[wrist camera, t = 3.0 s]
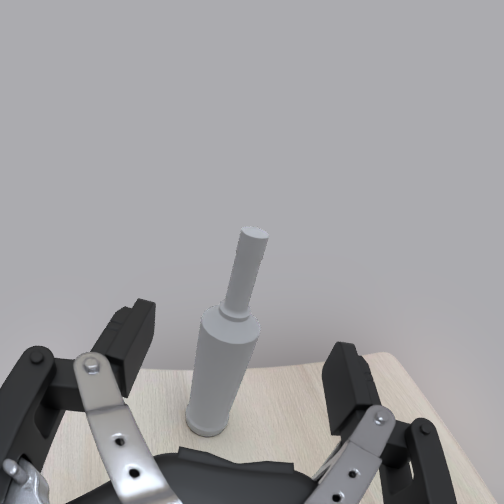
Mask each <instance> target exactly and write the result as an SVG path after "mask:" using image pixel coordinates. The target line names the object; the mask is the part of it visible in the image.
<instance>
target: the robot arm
mask: <svg viewBox="0 0 504 504" xmlns="http://www.w3.org/2000/svg"><path fill="white" fill-rule="evenodd" d="M155 308H156V304H155V303H154V302H151V301H147V300H143V299H137V301H136V302H135V304H134V306H133V308H128V307H123V308H121V309H120V310H118V311H117V312H115V314H114V315H113V317H112V319H111V320H110V322H109V323H108V325H107V326H106V328H105V329H104V331H103V332H102V334H101V335H100V337H99V339H98V340H97V342H96V343H95V345H94V347H93V348H92V350H91V351H90V352H86V353H83V354H81V355H79V356H78V357H77V358H76V359H74V360H70V359H60V358H54V356H53V354H52V352H51V351H50V350H49V349H48V348H46V347H43V346H33V347H30V348H28V349H27V350H26V351H24V353H23V354H22V356H21V357H20V359H19V360H18V361H17V363H16V365H15V366H14V368H13V369H12V371H11V372H10V374H9V375H8V377H7V378H6V380H5V382H4V383H3V385H2V387H1V388H0V504H50V503H49V485H48V483H47V481H46V479H45V478H44V477H43V476H42V475H41V474H40V473H41V470H42V468H43V465H44V462H45V460H46V457H47V454H48V452H49V449H50V447H51V444H52V442H53V439H54V437H55V434H56V432H57V429H58V427H59V425H60V422H61V420H62V418H63V415H64V413H65V411H66V410H69V411H78V412H85V413H86V416H87V420H88V423H89V426H90V429H91V432H92V435H93V437H94V440H95V443H96V446H97V448H98V451H99V454H100V456H101V459H102V461H103V464H104V466H105V468H106V471H107V473H108V475H109V478H110V481H108V482H107V483H105V484H103V485H101V486H99V487H97V488H96V489H94V490H92V491H90V492H88V493H86V494H84V495H82V496H80V497H78V498H76V499H74V500H72V501H70V502H68V503H66V504H359V502H360V500H361V499H362V497H363V495H364V494H365V492H366V490H367V488H368V487H369V485H370V483H371V481H372V480H373V478H374V476H375V474H376V472H377V470H378V469H379V472H380V479H381V486H382V494H383V502H384V504H457V501H456V497H455V493H454V489H453V485H452V481H451V477H450V473H449V470H448V466H447V463H446V459H445V456H444V452H443V449H442V446H441V443H440V440H439V436H438V433H437V430H436V428H435V426H434V425H433V423H432V422H430V421H429V420H427V419H425V418H417V419H415V420H414V421H413V422H412V423H411V424H408V423H405V422H401V421H398V420H395V417H394V415H393V413H392V412H391V411H390V410H389V409H388V408H386V407H384V406H382V405H381V402H380V399H379V395H378V392H377V389H376V386H375V383H374V382H373V377H372V375H371V371H370V368H369V365H368V363H367V362H366V361H365V360H364V358H363V357H362V356H358V354H357V351H356V348H355V345H354V344H351V343H345V342H337V343H336V344H335V345H334V347H333V349H332V351H331V353H330V355H329V357H328V359H327V360H326V362H325V364H324V366H323V369H322V381H323V387H324V393H325V399H326V405H327V412H328V418H329V424H330V431H331V435H336V436H341V441H340V442H339V443H338V444H337V446H336V447H335V448H334V450H333V451H332V453H331V454H330V455H329V457H328V458H327V459H326V461H325V462H324V463H323V465H322V466H321V467H320V469H319V470H318V471H317V472H316V473H315V474H314V475H313V477H312V478H310V477H308V476H307V475H305V474H303V473H300V472H298V471H295V470H294V463H286V462H273V461H262V462H253V463H242V464H237V463H233V462H231V461H228V460H226V459H223V458H220V457H218V456H215V455H213V454H211V453H208V452H203V451H198V450H194V449H189V448H185V447H180V446H179V450H178V453H165V454H160V455H156V456H152V454H151V452H150V450H149V448H148V446H147V444H146V442H145V440H144V438H143V436H142V434H141V432H140V430H139V428H138V426H137V423H136V421H135V419H134V417H133V414H132V412H131V410H130V408H129V406H128V405H127V404H125V402H124V400H123V398H122V397H124V398H128V396H129V393H130V391H131V389H132V386H133V384H134V381H135V379H136V377H137V374H138V372H139V370H140V367H141V365H142V363H143V360H144V358H145V356H146V354H147V351H148V349H149V347H150V344H151V342H152V339H153V335H154V326H155V325H154V324H155ZM410 461H411V464H412V468H413V473H414V478H413V479H412V474H411V469H410V465H409V462H410Z"/></svg>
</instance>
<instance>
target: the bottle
mask: <svg viewBox="0 0 504 504" xmlns="http://www.w3.org/2000/svg"><path fill="white" fill-rule="evenodd" d="M268 237H269V234H268V233H267V232H266V231H264V230H262V229H260V228H256V227H250V226H248V227H243V228H242V230H241V233H240V238H239V241H238V246H237V250H236V257H235V261H234V265H233V269H232V273H231V277H230V282H229V286H228V290H227V294H226V298H225V299H224V300H223V301H222V302H221V303H220V305H216V306H212V307H210V308H209V309H207V310H206V311H205V312H204V314H203V316H202V318H201V324H200V330H199V337H198V343H197V350H196V357H195V364H194V371H193V379H192V386H191V394H190V401H189V404H188V406H187V409H186V421H187V424H188V426H189V427H190V429H191V430H192V431H193V432H195V433H196V434H198V435H201V436H205V437H206V436H214V435H217V434H219V433H221V431H222V430H223V429H224V428H225V427H226V425H227V423H228V419H229V412H230V409H231V407H232V404H233V402H234V399H235V397H236V394H237V392H238V389H239V387H240V384H241V381H242V379H243V376H244V374H245V371H246V369H247V366H248V363H249V361H250V358H251V356H252V353H253V350H254V348H255V345H256V342H257V340H258V337H259V334H260V329H261V327H260V325H259V322H258V320H257V319H256V318H255V317H254V316H253V315H252V314H251V309H250V307H249V306H248V304H249V301H250V298H251V294H252V290H253V287H254V284H255V280H256V277H257V273H258V269H259V266H260V262H261V260H262V258H263V255H264V251H265V247H266V244H267V241H268Z"/></svg>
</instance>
